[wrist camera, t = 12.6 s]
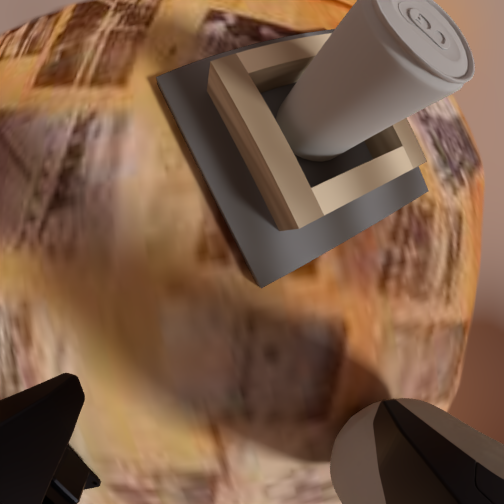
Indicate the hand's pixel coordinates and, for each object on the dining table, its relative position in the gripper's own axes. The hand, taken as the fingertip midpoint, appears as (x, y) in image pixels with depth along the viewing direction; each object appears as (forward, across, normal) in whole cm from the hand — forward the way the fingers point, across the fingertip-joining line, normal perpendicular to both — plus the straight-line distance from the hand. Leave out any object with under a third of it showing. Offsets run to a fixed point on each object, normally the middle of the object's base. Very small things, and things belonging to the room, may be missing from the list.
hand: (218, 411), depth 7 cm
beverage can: (+14, -4, -9) cm, 17 cm away
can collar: (+15, -3, -9) cm, 18 cm away
